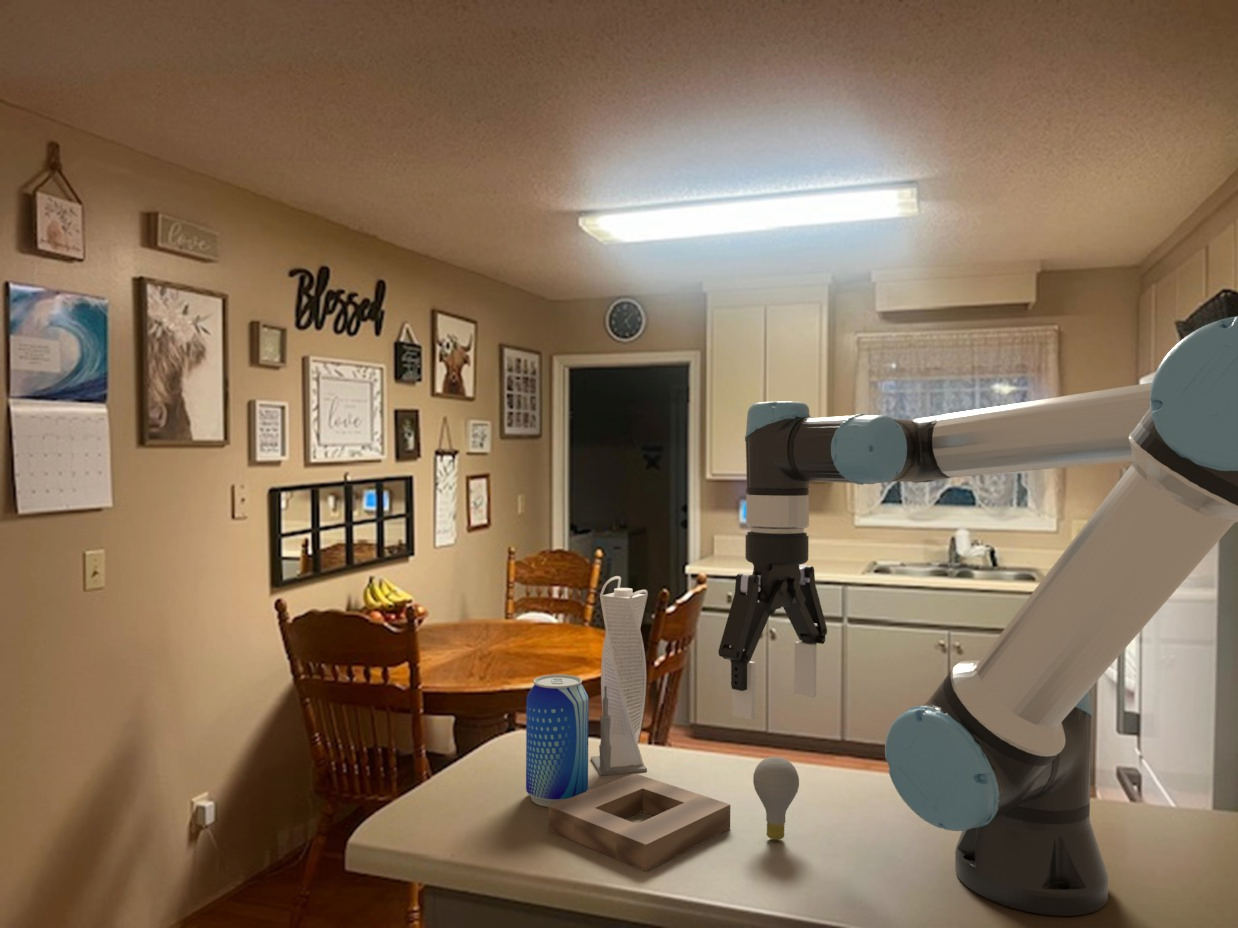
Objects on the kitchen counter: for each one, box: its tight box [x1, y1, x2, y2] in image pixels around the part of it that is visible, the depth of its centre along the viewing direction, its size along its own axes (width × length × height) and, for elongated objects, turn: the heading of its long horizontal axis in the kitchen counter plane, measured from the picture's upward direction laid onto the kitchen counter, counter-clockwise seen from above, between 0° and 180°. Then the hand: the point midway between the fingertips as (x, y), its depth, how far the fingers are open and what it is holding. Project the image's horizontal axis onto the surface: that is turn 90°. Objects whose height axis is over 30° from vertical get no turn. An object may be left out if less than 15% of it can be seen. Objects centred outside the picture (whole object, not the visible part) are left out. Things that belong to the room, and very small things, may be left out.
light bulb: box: [752, 756, 800, 842], centre depth 107 cm, size 6×6×10 cm
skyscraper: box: [590, 575, 649, 776], centre depth 134 cm, size 8×8×28 cm
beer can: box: [525, 674, 590, 808], centre depth 120 cm, size 8×8×16 cm
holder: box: [548, 772, 731, 872], centre depth 110 cm, size 16×16×3 cm
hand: (775, 705), depth 107 cm, fingers open, 13 cm apart
